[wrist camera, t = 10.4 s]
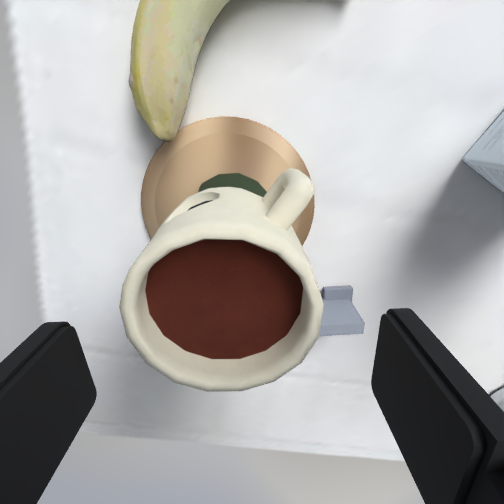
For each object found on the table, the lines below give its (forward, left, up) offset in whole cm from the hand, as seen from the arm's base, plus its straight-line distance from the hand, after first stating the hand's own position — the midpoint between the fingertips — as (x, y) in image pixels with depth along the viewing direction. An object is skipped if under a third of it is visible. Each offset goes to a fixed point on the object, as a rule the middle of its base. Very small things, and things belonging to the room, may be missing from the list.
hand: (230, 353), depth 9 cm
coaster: (+1, 0, -15) cm, 15 cm away
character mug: (0, 0, -15) cm, 14 cm away
